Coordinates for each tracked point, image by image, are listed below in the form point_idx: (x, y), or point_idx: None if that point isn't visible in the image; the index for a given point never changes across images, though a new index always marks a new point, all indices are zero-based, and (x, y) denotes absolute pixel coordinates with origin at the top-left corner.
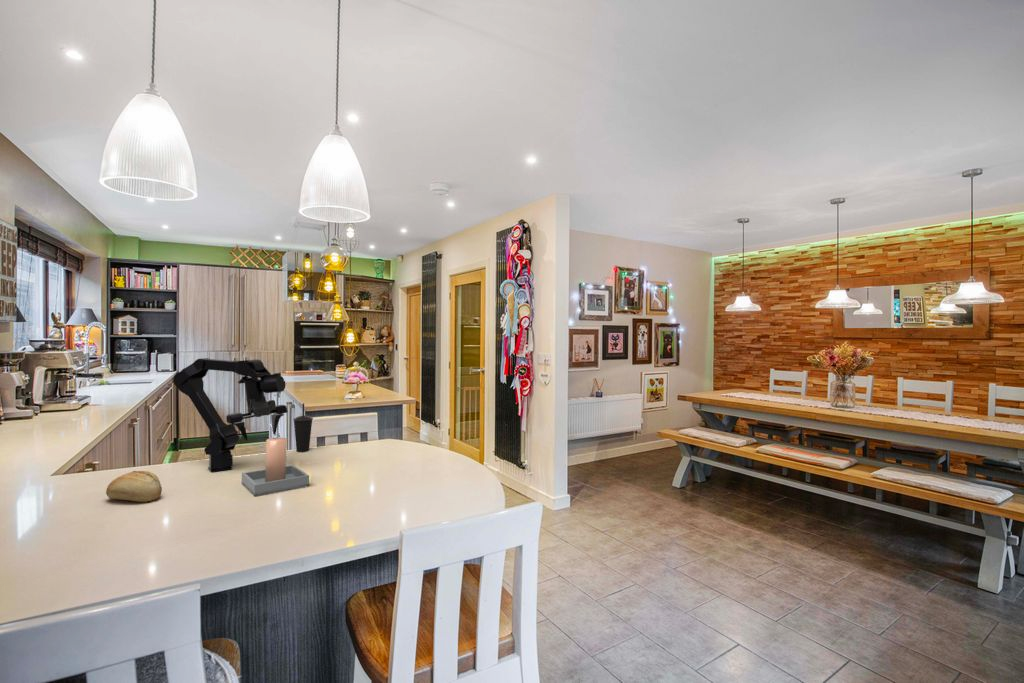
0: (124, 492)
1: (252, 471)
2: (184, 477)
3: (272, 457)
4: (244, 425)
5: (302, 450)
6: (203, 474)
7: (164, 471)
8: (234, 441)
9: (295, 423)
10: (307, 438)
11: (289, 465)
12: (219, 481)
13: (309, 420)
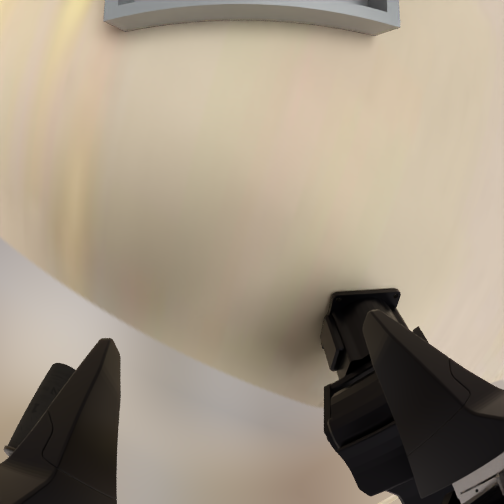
0: None
1: (349, 12)
2: (462, 276)
3: None
4: (483, 413)
5: (64, 368)
6: (421, 280)
7: (447, 355)
8: (359, 395)
9: None
10: (37, 395)
11: (124, 16)
12: (428, 143)
13: (8, 446)
